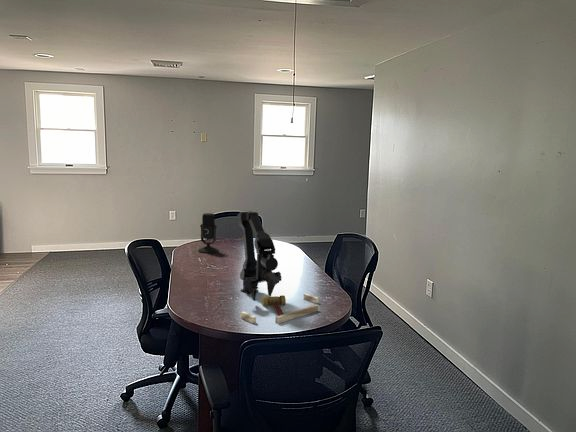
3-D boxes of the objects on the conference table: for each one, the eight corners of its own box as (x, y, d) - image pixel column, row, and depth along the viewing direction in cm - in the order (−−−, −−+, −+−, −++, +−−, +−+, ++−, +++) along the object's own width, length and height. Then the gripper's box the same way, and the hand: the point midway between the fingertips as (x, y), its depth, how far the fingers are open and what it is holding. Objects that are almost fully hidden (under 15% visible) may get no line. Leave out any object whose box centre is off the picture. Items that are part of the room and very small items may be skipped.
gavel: (295, 312, 189) (271, 314, 187) (294, 323, 190) (270, 324, 188) (283, 293, 209) (261, 294, 207) (283, 303, 210) (261, 304, 208)
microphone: (194, 252, 303) (194, 214, 299) (203, 248, 316) (204, 212, 312) (212, 254, 299) (213, 216, 295) (221, 250, 312) (222, 213, 308)
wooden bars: (240, 317, 189) (240, 312, 189) (305, 298, 216) (305, 293, 216) (263, 328, 179) (264, 322, 179) (329, 306, 206) (329, 301, 206)
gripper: (259, 272, 194) (258, 307, 197) (290, 265, 207) (289, 298, 210) (242, 266, 202) (241, 300, 205) (273, 260, 215) (272, 292, 218)
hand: (262, 298), depth 209 cm, fingers open, 9 cm apart
